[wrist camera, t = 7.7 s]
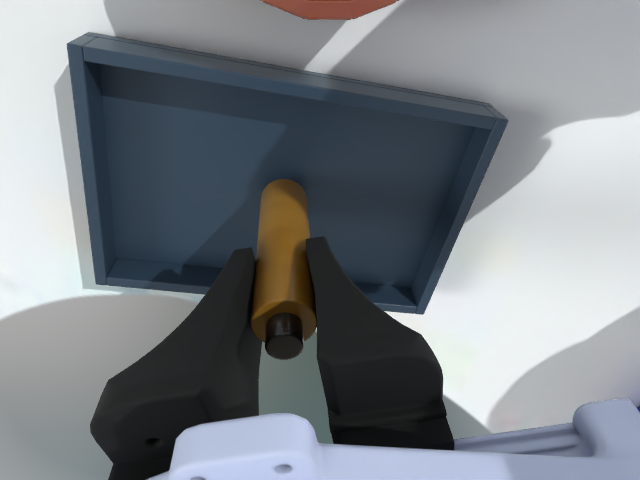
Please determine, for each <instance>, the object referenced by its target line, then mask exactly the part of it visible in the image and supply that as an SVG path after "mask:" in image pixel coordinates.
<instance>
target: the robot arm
mask: <svg viewBox="0 0 640 480" xmlns="http://www.w3.org/2000/svg"><path fill="white" fill-rule="evenodd" d="M306 252H307V257H308V263H309V268H310V273H311V277H312V282H313V286H314V291H315V298H316V317H317V360H318V365H319V369H320V374H321V379H322V383H323V387H324V392H325V397H326V402H327V406H328V415H329V426H330V432H331V434H332V439H333V443H334V444H324V443H318V441H317V439H316V435H315V431H314V428H313V427H312V426H311V424H310V423H309V422H308V421H307V420H306V419H305V418H302V417H300V416H297V415H294V414H292V413H273V414H266V415H259V408H258V407H259V406H258V405H259V404H258V379H259V364H260V356H261V345H262V341H261V340H260V339H259V338H258V337H257V336H256V335H255V334H254V332H253V330H252V327H251V314H252V302H253V289H254V279H255V266H256V260H255V257H254V253H253V250H252V247H249V248H243V249H236V250H234V251H233V253H232V254H231V256H230V258H229V259H228V261H227V263H226V264H225V266H224V268H223V269H222V271H221V272H220V274H219V275H218V277H217V278H216V280H215V281H214V283H213V284H212V286H211V287H210V289H209V290H208V292H207V293H206V294H205V296H204V297H203V298H202V300H201V301H200V302H199V304H198V305H197V306H196V308H195V309H194V310H193V311H192V312H191V314H190V315H189V316H188V317H187V318H186V319H185V320H184V321H183V322H182V323H181V324H180V325H179V327H177V328H176V329H175V330H174V331H173V332H172V333H171V334H170V335H169V336H168V337H166V338H165V339H164V340H163V341H162V342H161V343H160V344H159V345H157V346H156V347H155V348H154V349H153V350H151V351H150V352H149V353H147V354H146V355H145V356H143V357H142V358H141V359H139V360H138V361H137V362H135V363H134V364H132V365H131V366H129V367H128V368H126V369H125V370H124V371H122V372H120V373H119V374H117V375H116V376H114V377H113V378H111V379H109V380H108V382H107V384H106V386H105V388H104V390H103V393H102V395H101V397H100V400H99V403H98V405H97V408H96V411H95V413H94V416H93V418H92V421H91V424H90V429H91V434H92V436H93V437H94V439H95V440H96V442H97V443H98V444H99V446H100V447H101V448H102V450H103V451H104V452H105V453H106V455H107V456H108V457H109V458H110V460H111V461H112V462H113V467H112V470H111V473H110V476H109V479H108V480H640V412H639V411H638V409H637V408H636V406H635V405H634V404H633V402H632V401H631V400H630V399H629V398H619V399H612V400H605V401H598V402H591V403H587V404H584V405H582V406H580V407H579V408H578V409H577V410H576V411H575V413H574V416H573V423H566V424H559V425H552V426H545V427H538V428H531V429H524V430H517V431H510V432H503V433H496V434H489V435H482V436H476V437H468V438H462V439H453V436H452V433H451V430H450V428H449V425H448V421H447V418H446V414H447V413H446V409H445V406H444V403H443V400H442V395H443V374H442V369H441V367H440V364H439V362H438V360H437V358H436V356H435V355H434V353H433V351H432V350H431V348H430V346H429V345H428V343H427V342H426V341H425V339H424V338H423V336H422V335H421V334H419V333H417V332H416V331H414V330H412V329H410V328H408V327H406V326H404V325H403V324H401V323H399V322H398V321H396V320H395V319H393V318H392V317H391V316H389V315H388V314H387V313H385V312H384V311H383V310H382V309H380V308H379V307H378V306H376V305H375V304H374V303H373V302H372V301H371V300H370V299H369V298H368V297H367V296H365V295H364V294H363V293H362V292H361V290H360V289H359V288H358V287H357V286H356V285H355V284H354V283H353V281H352V280H351V279H350V278H349V277H348V275H347V274H346V273H345V271H344V270H343V268H342V267H341V266H340V264H339V263H338V261H337V260H336V258H335V256H334V254H333V253H332V251H331V249H330V247H329V244H328V242H327V238H325V237H324V236H321V237H314V238H308V239H306Z"/></svg>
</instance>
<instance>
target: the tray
mask: <svg viewBox="0 0 640 480" xmlns="http://www.w3.org/2000/svg"><path fill="white" fill-rule="evenodd" d="M67 50H68V59H69V67H70V75H71V83H72V91H73V100H74V108H75V116H76V124H77V133H78V141H79V149H80V157H81V166H82V174H83V182H84V190H85V199H86V207H87V215H88V223H89V232H90V240H91V248H92V256H93V265H94V273H95V281H96V284H98V285H109V286H120V287H131V288H142V289H152V290H163V291H174V292H185V293H196V294H206V293H207V292H208V290H209V289H210V287H211V286H212V284H213V283H214V281H215V280H216V278H217V277H218V275H219V274H220V272H221V271H222V269H223V268H224V266H225V264H226V263H227V261H228V259H229V258H230V256H231V254H232V253H233V251H234V250H236V249H243V248H249V247H252V250H253V253H254V257H255V260H256V253H257V241H258V228H259V216H260V204H261V195H262V192H263V190H264V188H265V187H266V186H267V185H268V184H269V183H271V182H273V181H275V180H279V179H289V180H292V181H295V182H296V183H298V184H299V185H300V186H302V188H303V189H304V191H305V193H306V196H307V207H308V219H309V230H310V238H314V237H321V236H324V237H325V238H327V242H328V244H329V247H330V249H331V251H332V253H333V254H334V256H335V258H336V260H337V261H338V263H339V264H340V266H341V267H342V268H343V270H344V271H345V273H346V274H347V275H348V277H349V278H350V279H351V280H352V281H353V283H354V284H355V285H356V286H357V287H358V288H359V289H360V290H361V292H362V293H363V294H364V295H365V296H367V297H368V298H369V299H370V300H371V301H372V302H373V303H374V304H375V305H376V306H378V307H379V308H380V309H382V310H383V311H390V312H401V313H412V314H414V313H415V314H424V312H425V310H426V308H427V305H428V303H429V301H430V299H431V296H432V294H433V292H434V290H435V287H436V285H437V283H438V280H439V278H440V276H441V274H442V271H443V269H444V267H445V264H446V262H447V260H448V258H449V255H450V253H451V251H452V248H453V246H454V244H455V242H456V239H457V237H458V235H459V232H460V230H461V228H462V226H463V223H464V221H465V219H466V216H467V214H468V212H469V210H470V207H471V205H472V203H473V200H474V198H475V196H476V194H477V191H478V189H479V187H480V184H481V182H482V180H483V178H484V175H485V173H486V171H487V169H488V166H489V164H490V162H491V159H492V157H493V155H494V153H495V150H496V148H497V146H498V143H499V141H500V139H501V137H502V134H503V132H504V130H505V127H506V125H507V123H508V119H506V118H505V117H504V116H503V115H502V114H501V113H499V112H498V111H497V110H496V109H495V108H493V107H492V106H491V105H490V104H488V103H482V102H477V101H471V100H465V99H460V98H454V97H449V96H443V95H437V94H432V93H426V92H421V91H415V90H409V89H404V88H398V87H393V86H387V85H381V84H376V83H370V82H365V81H359V80H353V79H348V78H342V77H337V76H331V75H325V74H320V73H314V72H309V71H303V70H297V69H292V68H286V67H281V66H275V65H269V64H264V63H258V62H253V61H247V60H241V59H236V58H230V57H225V56H219V55H213V54H208V53H202V52H197V51H191V50H185V49H180V48H174V47H169V46H163V45H157V44H152V43H146V42H141V41H135V40H129V39H124V38H118V37H113V36H107V35H101V34H96V33H90V32H88V33H86V34H84V35H82V36H80V37H78V38H77V39H75V40H73V41H71V42H69V43H67ZM315 299H316V298H315Z"/></svg>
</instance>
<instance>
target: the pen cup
mask: <svg viewBox="0 0 640 480" xmlns="http://www.w3.org/2000/svg"><path fill="white" fill-rule="evenodd" d="M261 1H262V2H263V3H266V4H268V5H271V6H273V7H276V8H278V9H281V10H283V11H286V12H288V13H291V14H293V15H296V16H298V17H301V18H303V19H308V20H351V19H355V18H358V17H361V16H363V15H366V14H368V13H371V12H373V11H376V10H378V9H381V8H383V7H386V6H389V5H391V4H394V3H395V2H396V1H399V0H261Z"/></svg>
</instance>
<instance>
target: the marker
mask: <svg viewBox="0 0 640 480" xmlns="http://www.w3.org/2000/svg"><path fill="white" fill-rule="evenodd" d="M308 238H310V230H309V219H308V207H307V196H306V193H305V191H304V189H303V188H302V186H300V185H299V184H298V183H296V182H295V181H292V180H289V179H279V180H275V181H273V182H271V183H269V184H268V185H267V186H266V187H265V188H264V190H263V192H262V195H261V204H260V216H259V228H258V241H257V253H256V266H255V279H254V289H253V302H252V314H251V327H252V330H253V332H254V334H255V335H256V336H257V337H258V338H259V339H260V340H261V341H263V342H265V349H266V351H267V353H268V354H269V355H270V356H272V357H273V358H276V359H280V360H288V359H292V358H294V357H296V356H298V355H299V354H300V353H301V352H302V350H303V347H304V341H306V340H307V339H308V338H310V337H311V336H312V334H313V333H314V332H315V330H316V327H317V317H316V299H315V291H314V286H313V282H312V277H311V273H310V268H309V263H308V257H307V252H306V239H308Z"/></svg>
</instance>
